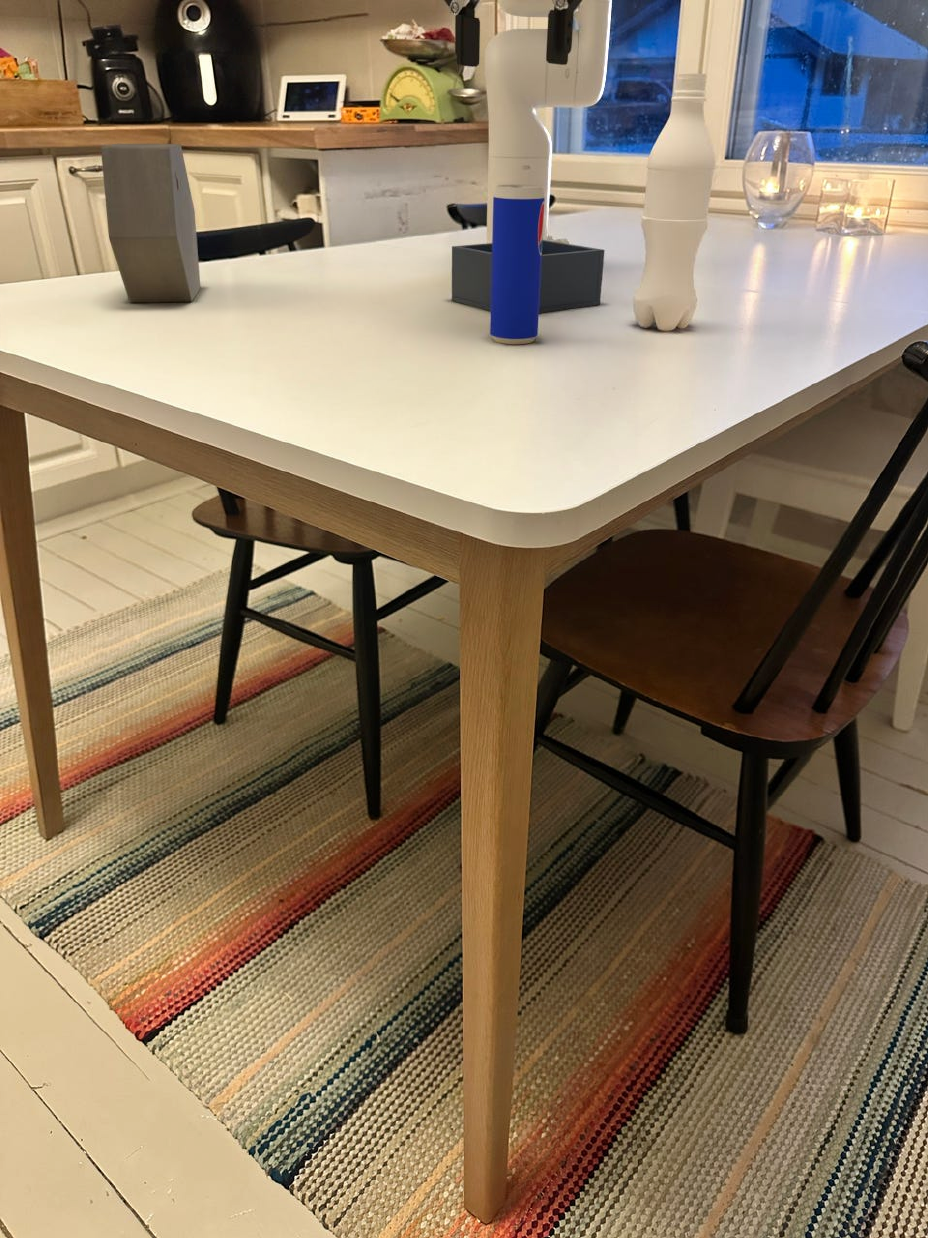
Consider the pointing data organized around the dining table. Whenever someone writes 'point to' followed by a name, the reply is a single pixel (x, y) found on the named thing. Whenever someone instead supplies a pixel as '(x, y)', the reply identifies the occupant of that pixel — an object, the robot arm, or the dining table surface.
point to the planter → (151, 221)
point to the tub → (564, 276)
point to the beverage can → (516, 263)
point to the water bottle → (675, 210)
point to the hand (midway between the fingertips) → (511, 64)
